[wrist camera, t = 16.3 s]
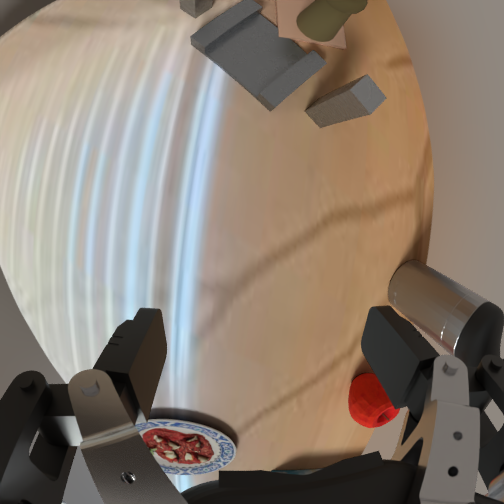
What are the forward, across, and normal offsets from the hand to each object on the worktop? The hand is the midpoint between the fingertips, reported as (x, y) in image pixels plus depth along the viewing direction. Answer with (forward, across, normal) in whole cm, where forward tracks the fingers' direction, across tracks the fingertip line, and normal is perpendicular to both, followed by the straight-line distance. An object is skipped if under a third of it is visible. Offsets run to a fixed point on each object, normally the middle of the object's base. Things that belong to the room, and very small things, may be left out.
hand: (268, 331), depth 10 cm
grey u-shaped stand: (+26, -1, -21) cm, 34 cm away
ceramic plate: (+23, +14, +49) cm, 56 cm away
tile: (+27, -8, -29) cm, 41 cm away
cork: (+27, -9, -27) cm, 39 cm away
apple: (+28, -24, +34) cm, 49 cm away
